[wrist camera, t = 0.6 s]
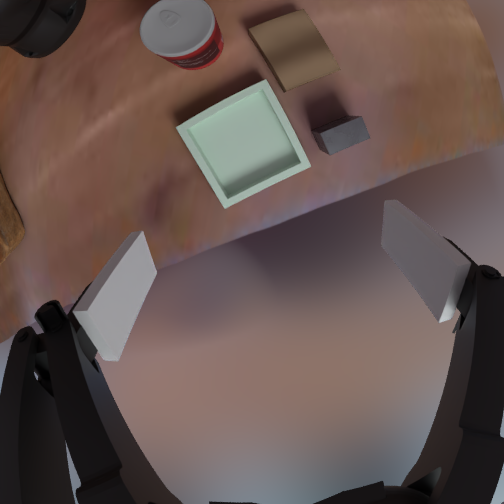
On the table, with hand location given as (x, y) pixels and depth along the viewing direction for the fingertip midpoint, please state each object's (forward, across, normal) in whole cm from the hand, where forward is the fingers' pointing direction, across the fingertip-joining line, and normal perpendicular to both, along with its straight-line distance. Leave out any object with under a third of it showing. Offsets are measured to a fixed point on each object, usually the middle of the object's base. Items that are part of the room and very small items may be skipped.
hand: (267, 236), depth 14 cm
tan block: (+26, +7, +15) cm, 31 cm away
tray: (+25, -1, +2) cm, 25 cm away
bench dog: (+25, +11, +2) cm, 28 cm away
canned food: (+26, -6, +18) cm, 32 cm away
